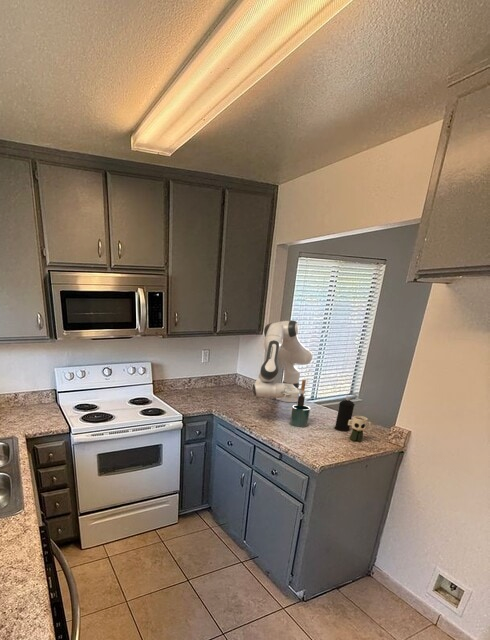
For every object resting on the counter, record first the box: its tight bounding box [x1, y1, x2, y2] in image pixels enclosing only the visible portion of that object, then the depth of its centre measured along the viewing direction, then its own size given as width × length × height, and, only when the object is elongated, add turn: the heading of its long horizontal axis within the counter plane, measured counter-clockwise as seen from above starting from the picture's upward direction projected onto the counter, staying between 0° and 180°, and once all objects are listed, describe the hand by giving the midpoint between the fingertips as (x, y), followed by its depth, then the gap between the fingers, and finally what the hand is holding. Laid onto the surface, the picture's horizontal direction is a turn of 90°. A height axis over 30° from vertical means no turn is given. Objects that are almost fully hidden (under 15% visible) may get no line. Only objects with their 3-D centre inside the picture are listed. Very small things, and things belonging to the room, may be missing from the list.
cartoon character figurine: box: [348, 415, 372, 442], centre depth 196 cm, size 11×7×13 cm, turn 70°
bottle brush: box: [296, 379, 307, 406], centre depth 214 cm, size 4×4×16 cm
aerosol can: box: [334, 395, 356, 432], centre depth 210 cm, size 8×8×20 cm
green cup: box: [289, 404, 311, 428], centre depth 219 cm, size 10×10×11 cm
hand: (304, 391), depth 214 cm, fingers closed on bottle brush, 2 cm apart
